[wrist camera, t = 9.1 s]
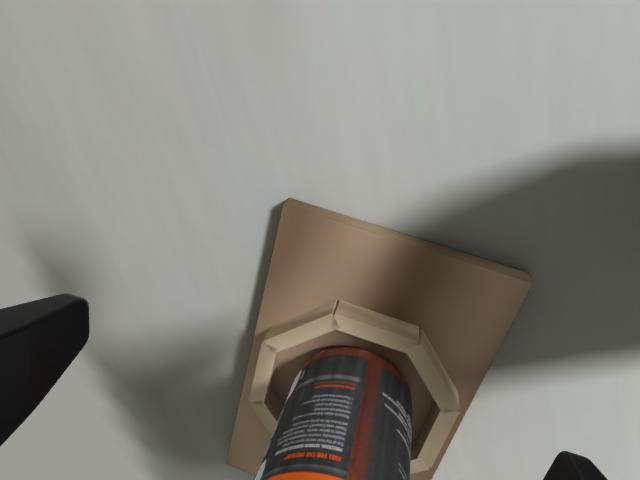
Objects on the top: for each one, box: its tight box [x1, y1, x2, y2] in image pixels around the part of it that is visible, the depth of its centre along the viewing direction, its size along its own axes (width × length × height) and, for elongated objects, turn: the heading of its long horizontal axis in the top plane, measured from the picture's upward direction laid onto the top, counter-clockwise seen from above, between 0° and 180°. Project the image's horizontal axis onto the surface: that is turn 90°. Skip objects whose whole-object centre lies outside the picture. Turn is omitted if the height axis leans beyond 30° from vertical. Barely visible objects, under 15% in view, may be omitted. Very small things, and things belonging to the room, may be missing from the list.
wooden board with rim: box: [226, 198, 532, 480], centre depth 23 cm, size 11×17×2 cm, turn 166°
